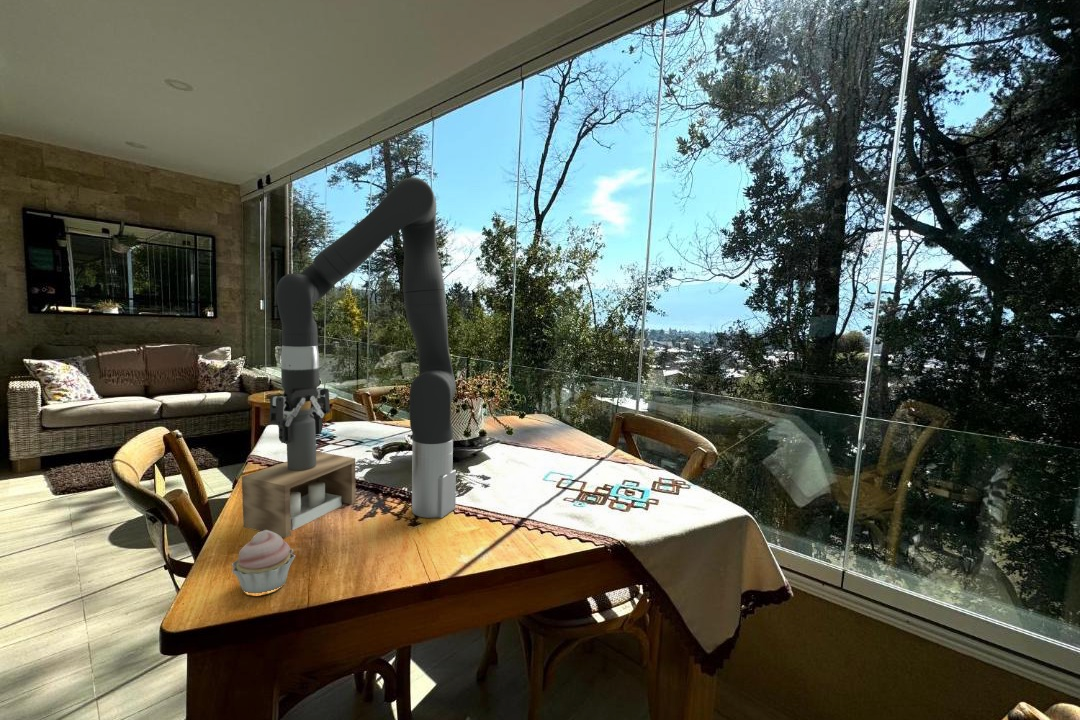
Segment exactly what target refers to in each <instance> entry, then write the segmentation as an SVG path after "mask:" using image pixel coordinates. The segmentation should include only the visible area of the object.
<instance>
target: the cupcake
mask: <svg viewBox="0 0 1080 720" xmlns="http://www.w3.org/2000/svg"><path fill="white" fill-rule="evenodd" d="M295 558H296V554H294V549H291V547H290V545H289V544H288V542H286V541H285V540H284V539H283V537H281V536H279V535H278V534H276V533H274V532H271V531H268V530H264V531H258V532H257V533H255V535H254V536H253V537H252V538H251V540H250V541H249V542H247V543H246V544H245V545H244V546H243V547H242V548H241V549H240V550H239V552H238V558H237V560H235V561H234V562H232V563H231V565H232V567H233V568H232V569H231V572H232V573H233V574H234V575H235V576H236V578H237V579H238V582H239V584H240V588H241V591H242V590H243V591H245V592H248V593H262V592H267V591H271V590H274V589H277V588H279V587H281V586H282V585H283V584H284V583H285V584H286V582H287V577H288V574H289V570H290V567H291V564H292V563H293V562H294V559H295ZM285 584H284V585H285ZM243 591H242V592H243Z"/></svg>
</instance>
